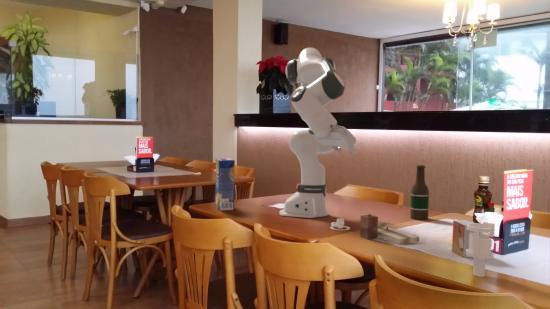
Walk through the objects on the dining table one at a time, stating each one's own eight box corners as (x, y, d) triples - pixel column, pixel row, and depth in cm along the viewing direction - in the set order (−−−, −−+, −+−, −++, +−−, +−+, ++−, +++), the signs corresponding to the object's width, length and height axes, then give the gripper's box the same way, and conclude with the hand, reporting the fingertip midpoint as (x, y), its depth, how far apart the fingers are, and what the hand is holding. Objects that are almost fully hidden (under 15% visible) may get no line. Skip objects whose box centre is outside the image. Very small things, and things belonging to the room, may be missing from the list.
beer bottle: (429, 220, 209) (430, 166, 207) (410, 219, 210) (412, 165, 209) (427, 217, 216) (428, 165, 215) (409, 216, 218) (411, 164, 217)
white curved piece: (329, 226, 196) (329, 216, 196) (348, 226, 196) (348, 217, 196) (330, 231, 188) (331, 220, 187) (351, 231, 187) (351, 221, 187)
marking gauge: (367, 239, 173) (367, 215, 172) (360, 236, 177) (360, 213, 176) (392, 236, 177) (393, 213, 177) (385, 234, 181) (385, 211, 181)
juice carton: (234, 209, 230) (234, 160, 229) (219, 210, 228) (219, 160, 227) (229, 205, 242) (230, 158, 240) (215, 206, 240) (215, 158, 238)
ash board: (399, 244, 165) (399, 238, 165) (368, 233, 181) (368, 228, 181) (419, 242, 169) (419, 236, 169) (386, 231, 185) (387, 226, 185)
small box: (451, 251, 157) (452, 219, 157) (467, 251, 158) (468, 219, 157) (463, 258, 149) (464, 225, 149) (480, 257, 150) (481, 224, 149)
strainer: (487, 280, 127) (489, 225, 126) (461, 275, 132) (463, 221, 131) (496, 274, 132) (498, 221, 131) (470, 269, 137) (472, 218, 136)
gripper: (346, 119, 162) (368, 147, 166) (315, 119, 180) (337, 145, 185) (334, 132, 160) (358, 160, 165) (305, 131, 178) (327, 156, 183)
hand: (346, 152), depth 175 cm, fingers open, 8 cm apart
